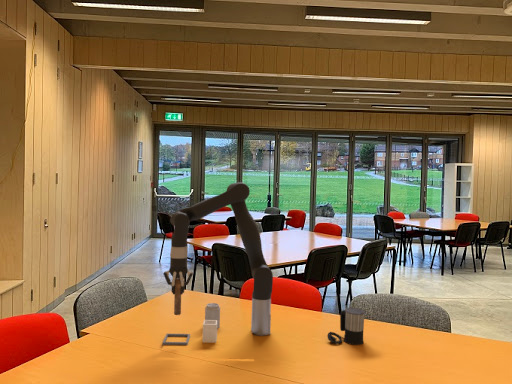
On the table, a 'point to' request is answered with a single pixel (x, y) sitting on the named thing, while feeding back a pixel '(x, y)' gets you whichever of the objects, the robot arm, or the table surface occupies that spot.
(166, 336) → the tray
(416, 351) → the table surface
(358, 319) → the milk frother
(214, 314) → the can
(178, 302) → the dowel
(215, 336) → the cup
